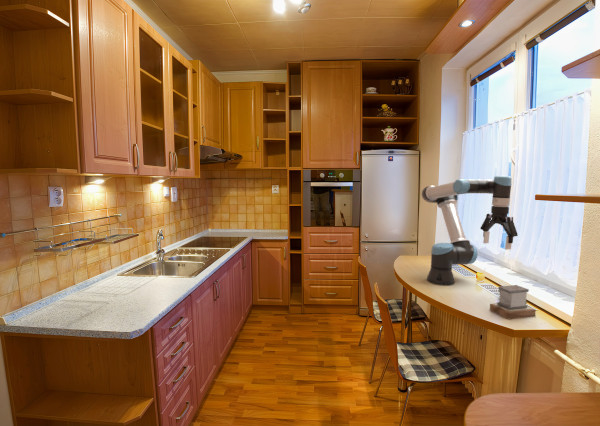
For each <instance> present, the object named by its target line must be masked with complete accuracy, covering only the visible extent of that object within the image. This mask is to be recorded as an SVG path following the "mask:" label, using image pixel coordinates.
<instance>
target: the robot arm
mask: <svg viewBox="0 0 600 426" xmlns="http://www.w3.org/2000/svg"><path fill="white" fill-rule="evenodd" d="M512 180H513V179H512V177H511V176H510V175H495V176H494V178H493V179H485V178H483V179H482V178H481V179H479V178H478V179H469V178H467V179H465V178H462V179H461V178H460V179H456V180H455V181H453V182H449V183H448V182H447V183H443V184H440V185H427V186H424V188H423V189H422V191H421V198H422V199H423V200H424V201H425V202H427V203H430V204H433V203H434V204H437V207H438V208H439V209H441V213H442V216H443V220H444V224H445V226H446V230H447V233H448V237H449V239H450V242H438V243H435V244H433V245H432V247H431V257H430V258H431V259H430V269H429V272H428V274H427V276H426V277H427V278H426V281H428V282H429V283H432V284H433V285H437V286H438V285H439V286H453V285H454V284H455V277H454V273H453V265H454V266H455V265H457V266H458V265H464V266H465V265H472V264H474V263H475V262H476V261H477V258H478V249H477V247H476V246H475V245H473V244H471V241H470V240H469V239H467V238H466V235H465V232H464V229H463V226H462V222H461V219H460V216H459V213H458V211H457V208H456V207H457V206H456V204H457V202H458V200H459V195H465V194H490V195H491V194H492V200H491V205H492V206H491V208H490V211H491V213H487V214H486V215H485V219H484V221H483V222H482V224H481V226H480V230H482V231H483V234H482V237H483V242H482V243H483V244H490V243H489V242H490V241H489V240H490V229H491V228H492V227H493V226H494V225H495V224H497V225H501V226H502V228H503V230H504V232H505V233H506V235H507V236H505V237H506V238H505V246H504V250H512V244H513V243H514V238H515V237H518V232H517V228H516V226H515V223H514V217H513V216H508V214H509V212H510V207H509V206H510V201H511V200H510V199H511V190H512Z"/></svg>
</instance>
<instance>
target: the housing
mask: <svg viewBox="0 0 600 426" xmlns="http://www.w3.org/2000/svg"><path fill="white" fill-rule="evenodd" d="M497 288H498V291H499V290H500V293H499V301H497V302H496V303H497V305H499V306H501V307H503V308H506V309H508V310H513V309H521V308H527V306H528V304H526V302H527V294H528V292H529V290H530V289H529V288H526V287H523V286H520V285H517V284H515V285H514V284H512V285H502V286H498V287H497Z"/></svg>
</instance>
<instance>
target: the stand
mask: <svg viewBox="0 0 600 426" xmlns="http://www.w3.org/2000/svg"><path fill="white" fill-rule="evenodd" d="M489 310H490V312H493V313H495V314H496V315H499V316H501V317H503V318H505V319H508V320H513V319H521V318H530V317H536V311H537V310H536V309H535V308H532V307H530V306H528V305H527V308H521V309H513V310H508V309H506V308H503V307H501V306H499V305H497V302H496V303H489Z"/></svg>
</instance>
